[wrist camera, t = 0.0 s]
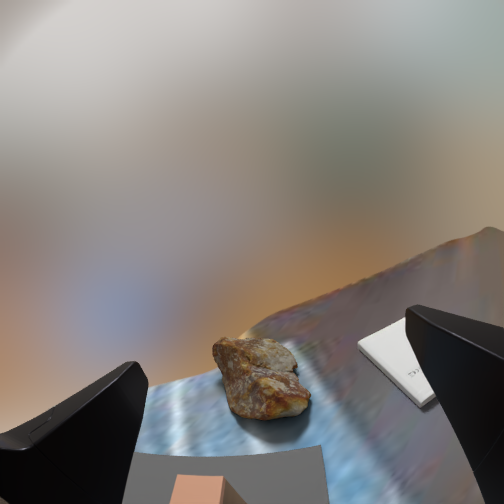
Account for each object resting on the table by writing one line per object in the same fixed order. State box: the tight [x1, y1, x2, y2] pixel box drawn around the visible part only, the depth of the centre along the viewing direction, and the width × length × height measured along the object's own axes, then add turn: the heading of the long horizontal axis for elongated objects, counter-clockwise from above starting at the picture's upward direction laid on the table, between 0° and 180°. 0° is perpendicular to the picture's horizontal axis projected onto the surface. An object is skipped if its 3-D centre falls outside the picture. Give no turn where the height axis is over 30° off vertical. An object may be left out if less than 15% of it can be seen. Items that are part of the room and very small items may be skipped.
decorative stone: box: [213, 337, 311, 420], centre depth 28 cm, size 10×4×15 cm
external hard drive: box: [358, 318, 436, 408], centre depth 25 cm, size 2×8×12 cm
